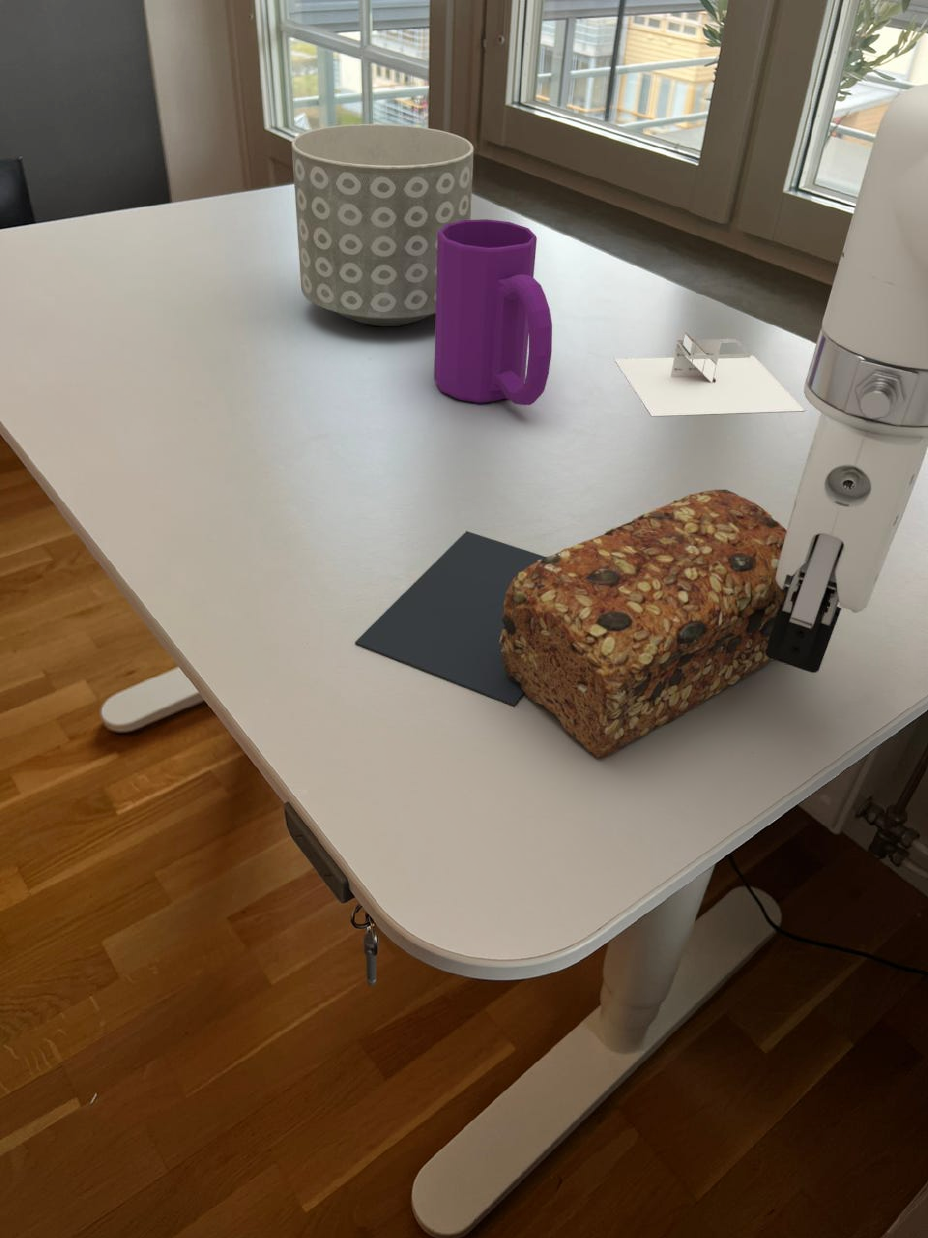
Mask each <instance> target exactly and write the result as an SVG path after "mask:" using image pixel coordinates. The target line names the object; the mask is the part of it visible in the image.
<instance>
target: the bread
mask: <svg viewBox="0 0 928 1238" xmlns="http://www.w3.org/2000/svg"><path fill="white" fill-rule="evenodd" d="M786 532H787V528H785V527H784V526H783V525H782V524H781V523H780V522H779V521H778V520H775V519H774V518H773V516H772V514H771V513H770V512H768V511H767V510H766V509H764V508H763V507H761V506H760V505H759V504H757V503H755V502H754V501H751V499H747V498H745V497H743V496H740V495H739V494H737V493H735V492H733V491H731V490H728V489H709V490H704V491H701V492H697V493H693V494H688V495H686V496H685V497H682V498H677V499H674V500H673V501H672V502H670V503H668V504H665V505H663V506H660V507H657V508H654V509H652V510H650V511H648V512H646V513H643V514H641V515H639V516H637V517H633V519H632V520H631V521H629V522H627V523H623V524H621V525H620V526H616V527H612V528H610V529H608V530H606V531H605V533H603V534H601V535H599V536H596V537H593V538H590V539H587V540H584V541H582V542H580V543H577V544H575V545H572V546H570V547H565V548H563V549H561V550H560V551H558V552H556V553H554V554H553V555H549V556H545V557H546V558H545V559H542V560H538V561H537V562H536V563H534V564H532V565H531V566H529V567H527V568H526V569H525V570H523V571H522V572H519V574H518V576H516V577H515V578H514V579H513V580H512V582H511V584H510V586H509V588H508V590H507V592H506V596H505V600H504V604H503V605H504V609H505V610H504V614H503V617H502V621H503V623H504V626H505V627H504V628H503V629H502V633H501V634H500V635H501V637H500V641H499V643H501V644H503V647H502V650H501V652H504V653H503V661H504V669H505V671H506V672H507V674H508V675H509V677H510V678H511V679H512V680H513V681H516V682H519V683H520V684H521V688H522V689H523V691H524V692H525V693H524V695H526V697H527V698H528V699H529V700H531V701H532V702H534V703H536V704H539V705H542V706H543V707H544V708H546V709H547V710H548V711H549V712H551V714H553V715H554V716H555V717H556V718H557V719H558V721H559V723H560V724H561V726H562V727H563V729H564V730H565V731H566V732H567V733H568V734H569V735H570V736H571V737H573V738H574V739H576V740H577V741H578V742H580V744H581V745H582V747H584V749H586V750H587V752H589V753H592V754H593V755H594V756H595V757H596V758H600V757H603V758H607V757H609V756H610V755H613V754H614V753H616V752H617V751H619V750H620V749H621V748H622V747H624V746H625V745H627V744H629V743H631V742H633V741H635V740H636V739H638V738H640V737H644V736H646V735H648V734H649V733H650V732H651V731H652V730H653V729H654V728H655V727H660V726H662V725H665V724H668V723H669V722H672V721H673V720H675V719H676V718H677V717H678V716H679V715H682V714H684V713H686V712H687V711H688V710H689V709H692V708H694V707H697V706H698V705H699V704H700V703H704V702H705V701H707V700H708V699H709V698H710V697H711V696H714V695H719V694H720V692H722V691H723V690H725V688H726V687H727V686H730V685H731V686H732V685H735V684H736V683H737V682H739V681H740V680H742V679H744V678H746V677H748V676H750V675H751V674H753V673H754V672H756V671H758V669H760V668H761V667H763V666H765V665H766V664H767V663H769V662H770V661H771V660H772V659H770V658H768V657H767V656H766V653H765V652H766V649H767V645H768V642H769V639H770V636H771V633H772V630H773V626H774V623H775V620H776V617H777V614H778V611H779V607H780V604H781V602H782V600H783V599H784V596H785V594H786V592H787V591H788V589H789V587H787V586H785V588H784V589H783V590H782V589H781V588H780V587H779V585H778V584H777V582H776V580H775V578H776V573H777V568H778V564H779V560H780V556H781V552H782V548H783V543H784V539H785V536H786Z"/></svg>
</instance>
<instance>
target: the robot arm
mask: <svg viewBox="0 0 928 1238" xmlns="http://www.w3.org/2000/svg"><path fill="white" fill-rule="evenodd" d="M875 133H876V134H875V135H874V139H873V143H872V147H871V150H870V154H869V157H868V159H867V163H866V167H865V170H864V175H863V178H862V181H861V184H860V188H859V192H858V195H857V199H856V203H855V205H854V210H853V212H852V216H851V220H850V224H849V227H848V230H847V234H846V237H845V241H844V245H843V248H842V252H841V255H840V258H839V261H838V262H839V263H838V266H837V269H836V273H835V277H834V280H833V283H832V287H831V291H830V294H829V298H828V301H827V306H826V308H825V311H824V315H823V319H822V323H821V327H820V329H819V333H818V336H817V340H816V344H815V347H814V350H813V354H812V358H811V361H810V364H809V368H808V372H807V375H806V377H805V382H804V385H803V393H804V396H805V399H806V400H807V401H808V403H809V404H810V405H811V406H812V407H814V408H815V409H816V410H817V411H819V412H820V415H819V418H818V420H817V424H816V428H815V431H814V434H813V438H812V441H811V444H810V447H809V451H808V454H807V457H806V460H805V464H804V468H803V471H802V474H801V478H800V481H799V483H798V484H799V485H798V488H797V490H796V491H797V492H796V495H795V499H794V503H793V506H792V510H791V513H790V517H789V520H788V524H787V528H786V530H787V532H786V536H785V539H784V543H783V548H782V552H781V556H780V560H779V564H778V568H777V573H776V578H775V580H776V582H777V584H778V585H779V587H780V588H781V589H782V590H783V589H784V588H785V586H787V587H789V589H788V591H787V592H786V594H785V596H784V599H783V600H782V602H781V604H780V607H779V611H778V614H777V617H776V620H775V623H774V626H773V630H772V633H771V636H770V639H769V642H768V645H767V649H766V652H765V653H766V656H767V657H768V658H770V659H771V660H772V661H773V660H774V661H775V662H779V663H782V664H785V665H787V666H791V667H794V668H795V669H799V670H802V671H805V672H808V673H811V674H815V673H818V672H819V670H820V669H821V665H822V663H823V661H824V658H825V654H826V651H827V649H828V646H829V643H830V641H831V638H832V635H833V632H834V631H835V628H836V624H837V622H838V620H839V617H840V614H841V611H842V608H843V609H846V610H850V611H851V613H855V614H857V613H860V612H862V611H864V610H865V609H867V608H868V605H869V603H870V600H871V598H872V595H873V592H874V590H875V587H876V585H877V582H878V580H879V577H880V574H881V572H882V570H883V567H884V564H885V562H886V560H887V557H888V554H889V552H890V549H891V547H892V545H893V542H894V538H895V536H896V533H897V531H898V529H899V527H900V523H901V521H902V518H903V516H904V513H905V511H906V508H907V506H908V503H909V501H910V498H911V496H912V492H913V490H914V487H915V485H916V482H917V479H918V477H919V474H920V472H921V468H922V465H923V463H924V460H925V457H926V453H927V451H928V83H925V84H924V83H923V84H920V85H917V86H913V87H910V88H907V90H905V91H902V92H901V93H900V94H898V96H896V98H894V99H893V100H892V101H891V103H889V106H887V108H886V110H885V111H884V113H883V115H882V117H881V119H880V122H879V124H878V128H877V130H876V132H875ZM838 605H839V606H838Z"/></svg>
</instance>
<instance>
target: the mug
mask: <svg viewBox="0 0 928 1238" xmlns="http://www.w3.org/2000/svg"><path fill="white" fill-rule="evenodd" d="M537 239H538V237H537V235H536V234H535V233H534V232H533V231H532V230H531V229H530V228H529V227H525V226H522V225H521V224H517V223H513V222H510V221H505V220H496V219H489V218H486V219H485V218H484V219H482V218H481V219H471V220H463V221H459V222H455V223H451V224H447V225H445V226H444V227H443V228H442V229H441V230H440V231H439V232H438V234H437V275H436V313H435V319H434V320H435V323H434V325H435V326H434V328H435V329H434V369H433V376H434V377H433V379H434V381H435V382H436V385H437V387H438V389H439V390H440V391H441V392H442V393H444V394H447V395H449V396H450V397H452V398H455V399H456V400H458V401H464V402H470V403H476V404H484V403H485V404H487V403H491V402H495V401H499V400H504V399H508V400H509V401H511V403H513V404H514V405H522V406H531V405H532V404H534V403H535V402H537V400H538V399H539V398H540V397H542V394H544V392H545V390H546V386H547V382H548V378H549V375H550V368H551V361H552V360H551V359H552V350H553V349H552V347H553V346H552V345H553V323H552V314H551V308H550V305H549V302H548V299H547V297H546V294H545V291H544V289H543V287H542V285H541V283H540V282H539V281H537V280H536V278H534V276H535V266H536V265H535V263H536V253H537V243H538V242H537V241H538V240H537Z"/></svg>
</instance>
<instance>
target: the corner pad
mask: <svg viewBox="0 0 928 1238" xmlns="http://www.w3.org/2000/svg"><path fill="white" fill-rule="evenodd" d="M546 557H547V556H544V555H541V554H538V553H535V552H532V551H529V550H526V549H523V548H520V547H517V546H513V545H510V544H509V543H504V542H503V541H498V540H495V539H493V538H489V537H486V536H484V535H480V534H477V533H474V532H471V531H468V530H466V531H465V532H463V534H462V535H461V536H460V537H459V538H458V539H457V540H455V542H454V543H452V545H451V546H450V547H449V548H448V549H447V550H446V551H445V552H444V553H443V554H442V555H440V557H439V558H438V559H437V560H436V561H435V562H433V564H432V565H431V566H430V567H429V568H428V569H427V570H425V571H424V572H423V573H422V575H421V576H420V577H419V578H418V579H416V580H415V581H414V582H413V584H412V585H411V586H409V588H408V589H406V590H405V592H404V593H403V594H402V595H400V596H399V597H398V598H397V599H396V600H395V601H394V602H393V604H392V605H390V607H388V608H387V610H385V611H384V612H383V613H382V614H381V615H380V616H379V617H378V618H377V620H375V621H374V622H373V623H372V624H371V626H369V627H368V628H367V629H366V630H365V631H364V632H363V633H362V634H361V635H360V636H359V637H358V638H357V640H355V641H354V644H355V645H356V646H359V647H361V648H364V649H367V650H369V651H371V652H373V653H377V654H379V655H382V656H384V657H387V658H389V659H392V660H395V661H397V662H399V663H402V664H405V665H407V666H409V667H412V668H414V669H418V670H420V671H422V672H425V673H428V674H429V675H432V676H435V677H438V678H440V679H443V680H446V681H448V682H450V683H453V684H455V685H458V686H460V687H463V688H466V689H468V690H470V691H473V692H476V693H478V694H481V695H483V696H486V697H488V698H491V699H494V700H496V701H499V702H501V703H503V704H506V705H509V706H511V707H516V706H517V704H518V703H519V701H520V700H521V699H522V697H523V696H524V695H525V692H524V691H523V689H522V688H521V684H520V683H519V682H516V681H513V680H512V679H511V678H510V677H509V675H508V674H507V672H506V671H505V669H504V661H503V653H504V652H501V650H502V647H503V644H501V643H499V641H500V637H501V635H500V634H501V633H502V629H503V628H504V627H505V626H504V623H503V621H502V617H503V614H504V610H505V609H504V605H503V604H504V600H505V596H506V592H507V590H508V588H509V586H510V584H511V582H512V580H513V579H514V578H515V577H516V576H518V574H519V572H522V571H523V570H525V569H526V568H527V567H529V566H531V565H532V564H534V563H536V562H537V561H538V560H542V559H545V558H546Z"/></svg>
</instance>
